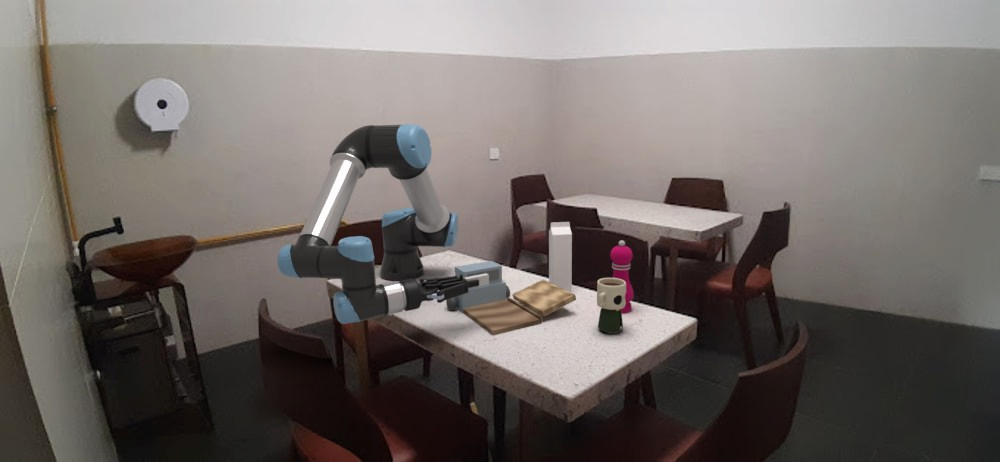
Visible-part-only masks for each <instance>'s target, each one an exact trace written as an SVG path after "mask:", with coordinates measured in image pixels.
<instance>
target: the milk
mask: <svg viewBox="0 0 1000 462" xmlns="http://www.w3.org/2000/svg"><path fill="white" fill-rule="evenodd" d="M572 244H573V233H572V230H571V224H570V221H559V222H558V221H557V222H555V221H554V222H550V227H549V230H548V282H549V283H552V284H554V285H556V286H558V287H560V288H562V289H564V290H566V291H569V292H571V293H572V287H573V285H572V279H573V278H572V277H573V276H572V271H573V269H572V268H573V267H572V266H573V265H572V264H573V263H572V261H573V260H572V258H573V254H572V253H573V249H572V248H573V247H572V246H573V245H572Z"/></svg>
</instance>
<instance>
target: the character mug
mask: <svg viewBox="0 0 1000 462" xmlns="http://www.w3.org/2000/svg"><path fill="white" fill-rule="evenodd" d="M596 287H597V290H596V304H597V307H599V308H600V312H599V317H598V322H597V323H598V324H597V328H598V329H599V330H600V331H604V332H605V333H609V334H617V333H621V331H624V324H623V323H624V322H623V313H622V312H621V309H622V308H624V307H625V304H626V301H625V294H626V282H625V281H624V280H622V279H618V278H613V277H602V278H599V279H598V280H597V285H596Z"/></svg>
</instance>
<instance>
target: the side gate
mask: <svg viewBox="0 0 1000 462" xmlns="http://www.w3.org/2000/svg"><path fill="white" fill-rule="evenodd" d="M512 299H513V300H514V301H516V302H518V303H520V304H521V305H523V306H525V307H526V308H528V309H530V310H532V311H533V312H535V313H537V314H538V315H540V316H542V317H546V316H548V315H550V314H552V313H554V312H557V311H558V310H560V309H561V308H563V307H566V306H567V305H569V304H572V303H573V302H575V301H576V300H577V297H576V294H574V293H573V292H572V291H571V292H569V291H566V290H564V289H562V288H560V287H558V286H556V285H554V284H552V283H549V281H547V280H545V279H541V280H539V281H537V282H535V283H532V284H531V285H529V286H527V287H525V288H523V289H521V290H519V291H517V292H515V293H512Z"/></svg>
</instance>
